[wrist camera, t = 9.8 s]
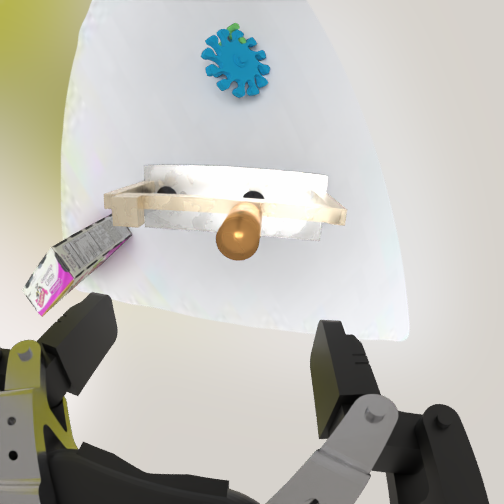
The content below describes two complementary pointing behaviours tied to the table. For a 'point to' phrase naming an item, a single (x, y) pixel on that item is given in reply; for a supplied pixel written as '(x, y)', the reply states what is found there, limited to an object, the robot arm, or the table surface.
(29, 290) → the candy bar box
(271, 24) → the table surface
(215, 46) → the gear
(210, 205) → the divider frame
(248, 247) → the cylinder
